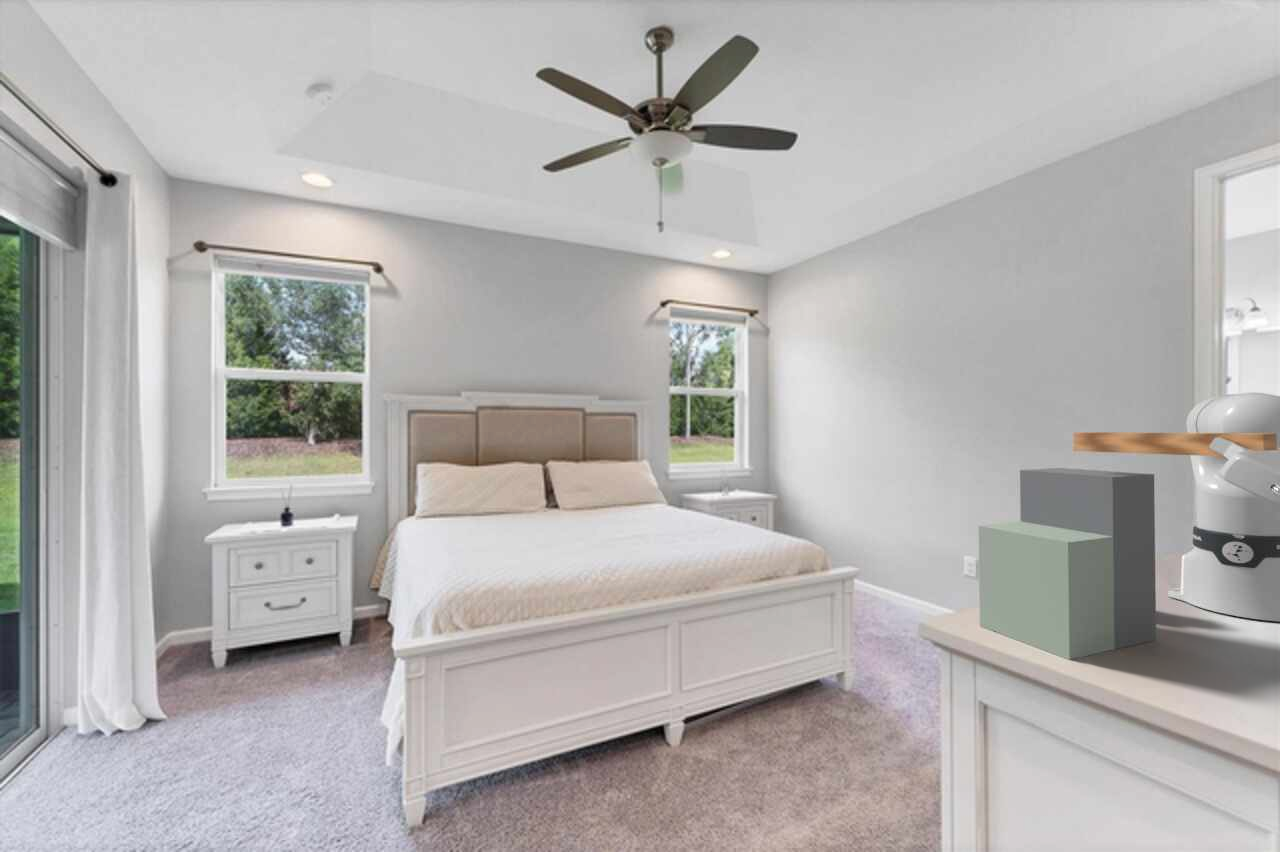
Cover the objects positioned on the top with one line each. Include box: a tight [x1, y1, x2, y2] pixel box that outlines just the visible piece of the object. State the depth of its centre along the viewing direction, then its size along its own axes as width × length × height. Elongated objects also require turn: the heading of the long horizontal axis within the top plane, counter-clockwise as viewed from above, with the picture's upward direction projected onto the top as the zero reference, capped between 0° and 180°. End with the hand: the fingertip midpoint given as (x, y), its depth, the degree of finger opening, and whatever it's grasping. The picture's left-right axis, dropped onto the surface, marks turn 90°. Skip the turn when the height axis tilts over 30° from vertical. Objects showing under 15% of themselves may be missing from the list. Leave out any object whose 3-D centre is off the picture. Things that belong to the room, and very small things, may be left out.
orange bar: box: [1072, 431, 1277, 456], centre depth 79 cm, size 22×3×3 cm, turn 19°
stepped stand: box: [978, 467, 1157, 660], centre depth 88 cm, size 14×20×26 cm
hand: (1224, 441), depth 73 cm, fingers closed on orange bar, 3 cm apart
